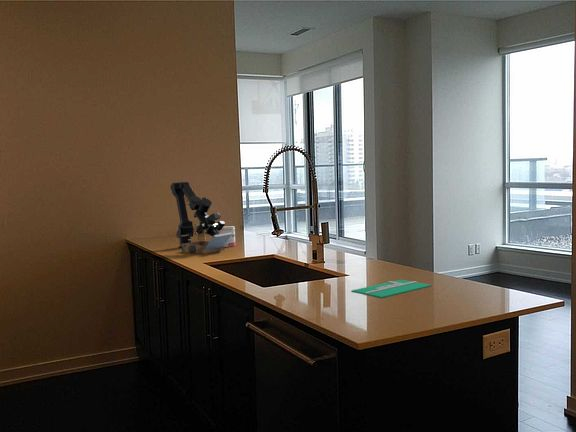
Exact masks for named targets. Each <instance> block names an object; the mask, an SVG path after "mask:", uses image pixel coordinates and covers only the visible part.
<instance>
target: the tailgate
mask: <svg viewBox="0 0 576 432" xmlns="http://www.w3.org/2000/svg"><path fill="white" fill-rule="evenodd" d="M231 235H232V233H231V232H230V233H224V234H220V233H219V234H218V235H214V236H212V238H211V239H210V240H209V241H210V242H209V243H208V245H207V246H206V250H208V249H213V248H218V247H223V246H224V245H225V243H226V242H227V240H228V239H229V238H230V236H231Z"/></svg>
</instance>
